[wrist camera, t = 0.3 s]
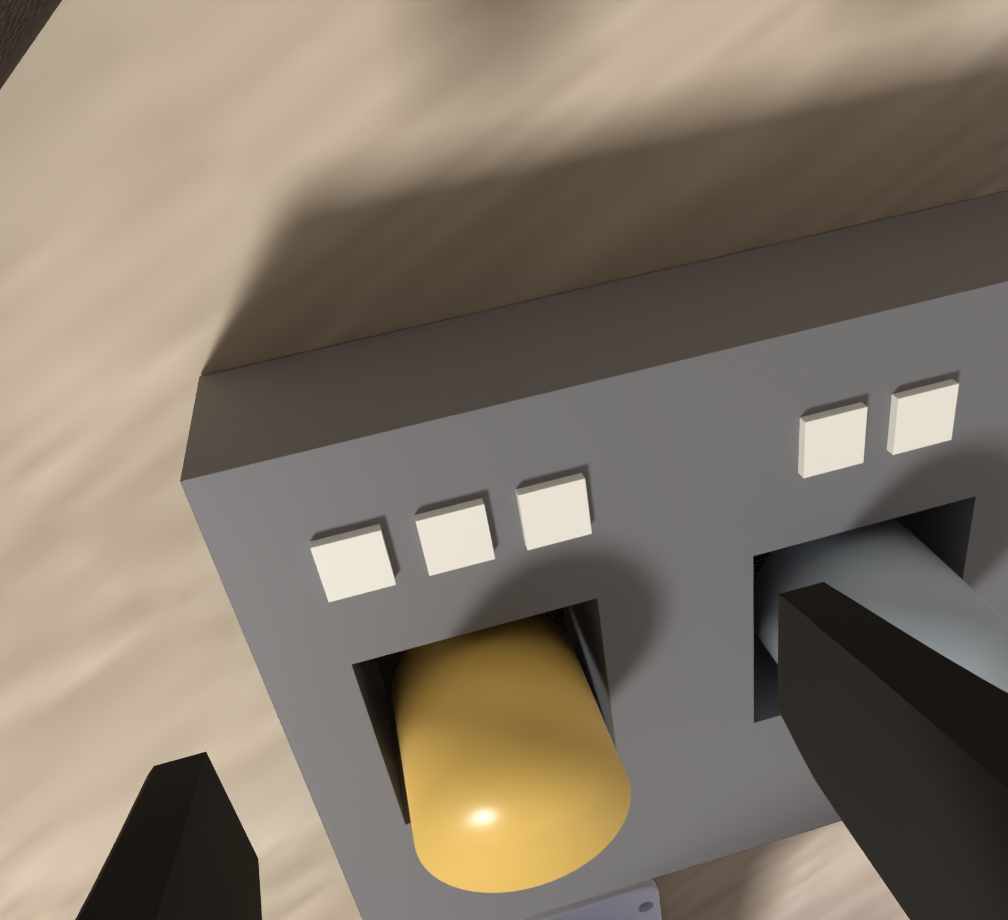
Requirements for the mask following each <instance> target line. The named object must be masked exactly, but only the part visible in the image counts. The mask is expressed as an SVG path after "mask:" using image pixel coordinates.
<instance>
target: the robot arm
mask: <svg viewBox="0 0 1008 920" xmlns="http://www.w3.org/2000/svg"><path fill="white" fill-rule="evenodd" d="M777 708H778V710H779V712H780V714H781V716H782V718H783V720H784V722H785V724H786V726H787V728H788V730H789V732H790V734H791V736H792V738H793V740H794V742H795V744H796V746H797V748H798V750H799V752H800V753H801V755H802V757H803V759H804V761H805V763H806V764H807V766H808V768H809V770H810V772H811V774H812V776H813V777H814V779H815V781H816V783H817V784H818V786H819V787H820V789H821V790H822V792H823V793H824V795H825V796H826V798H827V799H828V801H829V802H830V804H831V805H832V806H833V808H834V809H835V811H836V812H837V814H838V815H839V817H840V818H841V820H842V821H843V823H844V824H845V826H846V827H847V829H848V830H849V832H850V833H851V835H852V836H853V837H854V839H855V840H856V842H857V843H858V845H859V846H860V848H861V849H862V851H863V852H864V853H865V855H866V856H867V858H868V859H869V861H870V862H871V864H872V865H873V867H874V868H875V869H876V871H877V872H878V874H879V875H880V877H881V878H882V880H883V881H884V883H885V884H886V885H887V887H888V888H889V890H890V891H891V893H892V894H893V896H894V897H895V899H896V900H897V901H898V903H899V904H900V906H901V907H902V909H903V910H904V912H905V913H906V915H907V916H908V917H909V919H910V920H1008V693H1007V692H1005V691H1003V690H1002V689H1000V688H998V687H996V686H994V685H993V684H991V683H989V682H987V681H986V680H984V679H982V678H980V677H979V676H977V675H975V674H974V673H972V672H970V671H968V670H967V669H965V668H963V667H962V666H960V665H958V664H957V663H955V662H953V661H951V660H950V659H948V658H946V657H945V656H943V655H941V654H940V653H938V652H936V651H935V650H933V649H931V648H930V647H928V646H926V645H925V644H923V643H922V642H920V641H918V640H917V639H915V638H913V637H912V636H910V635H909V634H907V633H905V632H904V631H902V630H901V629H899V628H897V627H896V626H894V625H892V624H891V623H889V622H888V621H886V620H884V619H883V618H881V617H880V616H878V615H876V614H875V613H873V612H872V611H870V610H868V609H867V608H865V607H864V606H862V605H861V604H859V603H857V602H856V601H854V600H853V599H851V598H849V597H848V596H846V595H844V594H843V593H841V592H840V591H838V590H836V589H835V588H833V587H831V586H830V585H828V584H826V583H825V582H821V583H817V584H814V585H810V586H806V587H803V588H799V589H795V590H792V591H788V592H784V593H781V594H779V600H778V687H777ZM75 920H262V912H261V895H260V880H259V864H258V857H257V855H256V853H255V851H254V849H253V847H252V845H251V843H250V841H249V839H248V837H247V835H246V833H245V831H244V829H243V827H242V825H241V822H240V820H239V818H238V816H237V814H236V812H235V810H234V808H233V806H232V804H231V802H230V800H229V798H228V796H227V794H226V792H225V790H224V788H223V786H222V784H221V781H220V779H219V777H218V775H217V773H216V771H215V769H214V767H213V765H212V763H211V761H210V759H209V757H208V755H207V753H206V752H203V753H200V754H196V755H193V756H189V757H185V758H182V759H178V760H174V761H171V762H167V763H164V764H160V765H156V766H154V767H153V768H152V770H151V771H150V773H149V774H148V776H147V778H146V780H145V782H144V784H143V786H142V788H141V790H140V792H139V794H138V796H137V798H136V800H135V802H134V805H133V807H132V809H131V811H130V813H129V815H128V817H127V819H126V821H125V823H124V825H123V827H122V829H121V831H120V833H119V835H118V837H117V839H116V841H115V843H114V845H113V848H112V850H111V852H110V854H109V856H108V857H107V859H106V861H105V863H104V865H103V867H102V869H101V871H100V873H99V875H98V877H97V879H96V881H95V883H94V885H93V887H92V889H91V891H90V893H89V895H88V897H87V899H86V900H85V902H84V904H83V906H82V908H81V910H80V912H79V914H78V916H77V917H76V919H75ZM520 920H662V916H661V906H660V897H659V891H658V888H657V886H656V883H655V881H654V880H652V879H650V880H647V881H644V882H641V883H637V884H634V885H631V886H627V887H624V888H621V889H618V890H614V891H611V892H608V893H605V894H601V895H598V896H595V897H592V898H588V899H585V900H582V901H579V902H575V903H572V904H569V905H566V906H562V907H559V908H556V909H553V910H549V911H546V912H543V913H540V914H536V915H533V916H530V917H527V918H523V919H520Z"/></svg>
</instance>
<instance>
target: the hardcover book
mask: <svg viewBox="0 0 1008 920" xmlns="http://www.w3.org/2000/svg"><path fill="white" fill-rule="evenodd" d="M61 1H62V0H0V89H1V88H2V86H3V85H4V83H5V82H6V80H7V79H8V77H9V76H10V75H11V73H12V72H13V70H14V69H15V67H16V66H17V64H18V63H19V62H20V60H21V59H22V57H23V56H24V54H25V53H26V51H27V50H28V49H29V47H30V46H31V44H32V43H33V41H34V40H35V38H36V37H37V35H38V34H39V33H40V31H41V30H42V28H43V27H44V25H45V24H46V22H47V21H48V20H49V18H50V17H51V15H52V14H53V12H54V11H55V9H56V8H57V7H58V5H59V4H60V2H61Z"/></svg>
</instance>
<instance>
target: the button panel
mask: <svg viewBox="0 0 1008 920" xmlns="http://www.w3.org/2000/svg"><path fill="white" fill-rule="evenodd" d="M180 482H181V485H182V487H183V489H184V492H185V494H186V497H187V499H188V501H189V504H190V506H191V509H192V511H193V513H194V516H195V518H196V521H197V523H198V525H199V528H200V530H201V533H202V535H203V537H204V540H205V542H206V545H207V547H208V549H209V552H210V554H211V557H212V559H213V561H214V564H215V566H216V569H217V571H218V573H219V576H220V578H221V581H222V583H223V585H224V588H225V590H226V593H227V595H228V597H229V600H230V602H231V605H232V607H233V609H234V612H235V614H236V617H237V619H238V621H239V624H240V626H241V629H242V631H243V633H244V636H245V638H246V641H247V643H248V646H249V648H250V650H251V653H252V655H253V658H254V660H255V662H256V665H257V667H258V670H259V672H260V674H261V677H262V679H263V682H264V684H265V686H266V689H267V691H268V694H269V696H270V698H271V701H272V703H273V706H274V708H275V710H276V713H277V715H278V718H279V720H280V722H281V725H282V727H283V730H284V732H285V734H286V737H287V739H288V742H289V744H290V746H291V749H292V751H293V754H294V756H295V758H296V761H297V763H298V766H299V768H300V770H301V773H302V775H303V778H304V780H305V782H306V785H307V787H308V790H309V792H310V794H311V797H312V799H313V802H314V804H315V807H316V809H317V811H318V814H319V816H320V819H321V821H322V823H323V826H324V828H325V831H326V833H327V835H328V838H329V840H330V843H331V845H332V847H333V850H334V852H335V855H336V857H337V859H338V862H339V864H340V867H341V869H342V871H343V874H344V876H345V879H346V881H347V883H348V886H349V888H350V891H351V893H352V895H353V898H354V900H355V903H356V905H357V907H358V910H359V912H360V915H361V917H362V919H363V920H520V919H523V918H527V917H530V916H533V915H536V914H540V913H543V912H546V911H549V910H553V909H556V908H559V907H562V906H566V905H569V904H572V903H575V902H579V901H582V900H585V899H588V898H592V897H595V896H598V895H601V894H605V893H608V892H611V891H614V890H618V889H621V888H624V887H627V886H631V885H634V884H637V883H641V882H644V881H647V880H650V879H654V878H657V877H660V876H663V875H667V874H670V873H673V872H676V871H680V870H683V869H686V868H689V867H693V866H696V865H699V864H702V863H706V862H709V861H712V860H715V859H719V858H722V857H725V856H728V855H732V854H735V853H738V852H741V851H745V850H748V849H751V848H754V847H758V846H761V845H764V844H767V843H771V842H774V841H777V840H780V839H784V838H787V837H790V836H793V835H797V834H800V833H803V832H806V831H810V830H813V829H816V828H819V827H823V826H826V825H829V824H832V823H836V822H839V821H842V820H841V818H840V817H839V815H838V814H837V812H836V811H835V809H834V808H833V806H832V805H831V804H830V802H829V801H828V799H827V798H826V796H825V795H824V793H823V792H822V790H821V789H820V787H819V786H818V784H817V783H816V781H815V779H814V777H813V776H812V774H811V772H810V770H809V768H808V766H807V764H806V763H805V761H804V759H803V757H802V755H801V753H800V752H799V750H798V748H797V746H796V744H795V742H794V740H793V738H792V736H791V734H790V732H789V730H788V728H787V726H786V724H785V722H784V720H783V718H782V716H781V714H780V712H779V710H778V708H777V687H778V664H777V663H776V661H775V660H774V659H773V657H772V656H771V654H770V653H769V651H768V650H767V649H766V647H765V646H764V644H763V643H762V641H761V640H760V638H759V637H758V636H757V634H756V633H755V631H754V626H753V556H756V555H759V554H763V553H767V552H771V551H774V550H778V549H782V548H785V547H789V546H793V545H797V544H800V543H804V542H808V541H811V540H815V539H819V538H823V537H826V536H830V535H834V534H837V533H841V532H845V531H849V530H852V529H856V528H860V527H863V526H867V525H871V524H874V523H878V522H882V521H886V520H889V519H893V518H896V519H897V520H898V521H899V522H901V523H902V524H903V525H904V526H905V527H906V528H907V529H908V530H909V531H910V532H912V533H913V534H914V535H915V536H916V537H917V538H918V539H919V540H920V541H921V542H922V543H923V544H925V545H926V546H927V547H928V548H929V549H930V550H931V551H932V552H933V553H934V554H935V555H936V556H938V557H939V558H940V559H941V560H942V561H943V562H944V563H945V564H946V565H947V566H948V567H949V568H951V569H952V570H953V571H954V572H955V573H956V574H957V575H958V576H959V577H960V578H961V579H962V580H963V581H965V582H966V583H967V584H968V585H969V586H970V587H971V588H972V589H973V590H974V591H975V592H976V593H978V594H979V595H980V596H981V597H982V598H983V599H984V600H985V601H986V602H987V603H988V604H989V605H991V606H992V607H993V608H994V609H995V610H996V611H997V612H998V613H999V614H1000V615H1001V616H1002V617H1004V618H1005V619H1006V620H1007V621H1008V191H1005V192H1001V193H996V194H992V195H988V196H983V197H979V198H975V199H970V200H966V201H962V202H957V203H953V204H948V205H944V206H940V207H935V208H931V209H927V210H922V211H918V212H914V213H909V214H905V215H901V216H896V217H892V218H888V219H883V220H879V221H875V222H870V223H866V224H861V225H857V226H853V227H848V228H844V229H840V230H835V231H831V232H827V233H822V234H818V235H814V236H809V237H805V238H801V239H796V240H792V241H787V242H783V243H779V244H774V245H770V246H766V247H761V248H757V249H753V250H748V251H744V252H740V253H735V254H731V255H727V256H722V257H718V258H714V259H709V260H705V261H700V262H696V263H692V264H687V265H683V266H679V267H674V268H670V269H666V270H661V271H657V272H653V273H648V274H644V275H640V276H635V277H631V278H626V279H622V280H618V281H613V282H609V283H605V284H600V285H596V286H592V287H587V288H583V289H579V290H574V291H570V292H566V293H561V294H557V295H553V296H548V297H544V298H539V299H535V300H531V301H526V302H522V303H518V304H513V305H509V306H505V307H500V308H496V309H492V310H487V311H483V312H479V313H474V314H470V315H465V316H461V317H457V318H452V319H448V320H444V321H439V322H435V323H431V324H426V325H422V326H418V327H413V328H409V329H405V330H400V331H396V332H392V333H387V334H383V335H378V336H374V337H370V338H365V339H361V340H357V341H352V342H348V343H344V344H339V345H335V346H331V347H326V348H322V349H318V350H313V351H309V352H304V353H300V354H296V355H291V356H287V357H283V358H278V359H274V360H270V361H265V362H261V363H257V364H252V365H248V366H244V367H239V368H235V369H231V370H226V371H222V372H217V373H213V374H209V375H204V376H200V377H199V382H198V388H197V393H196V399H195V404H194V409H193V415H192V420H191V426H190V431H189V437H188V442H187V447H186V453H185V458H184V464H183V469H182V475H181V480H180ZM559 608H563V614H564V620H565V627H566V633H567V636H568V638H569V639H570V642H571V644H572V646H573V648H574V651H575V653H576V656H577V658H578V660H579V663H580V665H581V667H582V670H583V672H584V675H585V677H586V679H587V682H588V684H589V686H590V689H591V691H592V694H593V696H594V698H595V701H596V703H597V705H598V708H599V710H600V713H601V715H602V717H603V720H604V722H605V724H606V727H607V729H608V732H609V734H610V736H611V739H612V741H613V743H614V746H615V748H616V751H617V753H618V755H619V758H620V760H621V763H622V765H623V767H624V770H625V772H626V774H627V777H628V779H629V783H630V787H631V802H630V808H629V811H628V814H627V817H626V819H625V821H624V823H623V825H622V827H621V829H620V830H619V832H618V833H617V835H616V836H615V837H614V839H613V840H612V841H611V842H610V843H609V844H608V845H607V846H606V847H605V848H604V849H603V850H602V851H601V852H600V853H599V854H598V855H597V856H595V857H594V858H593V859H591V860H590V861H589V862H588V863H586V864H584V865H583V866H581V867H580V868H578V869H577V870H575V871H573V872H571V873H569V874H567V875H565V876H563V877H561V878H559V879H556V880H554V881H552V882H549V883H546V884H543V885H540V886H536V887H533V888H529V889H524V890H519V891H513V892H503V893H483V892H473V891H468V890H463V889H459V888H456V887H453V886H450V885H448V884H446V883H444V882H442V881H440V880H439V879H437V878H436V877H434V876H433V875H432V874H431V873H430V872H429V871H427V870H426V869H425V867H424V866H423V864H422V863H421V862H420V860H419V858H418V855H417V853H416V849H415V845H414V839H413V832H412V826H411V819H410V812H409V806H408V799H407V793H406V786H405V779H404V773H403V766H402V759H401V753H400V746H399V740H398V733H397V726H396V720H395V713H394V707H393V700H392V690H391V691H387V692H386V690H385V686H384V683H383V680H382V677H381V674H380V670H379V667H378V664H377V661H376V658H377V657H381V656H385V655H389V654H392V653H396V652H400V651H403V650H407V649H411V648H414V647H418V646H422V645H426V644H429V643H433V642H437V641H440V640H444V639H448V638H452V637H455V636H459V635H463V634H466V633H470V632H474V631H478V630H481V629H485V628H489V627H492V626H496V625H500V624H504V623H507V622H511V621H515V620H518V619H522V618H526V617H529V616H533V615H537V614H541V613H544V612H548V611H552V610H555V609H559Z"/></svg>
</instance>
